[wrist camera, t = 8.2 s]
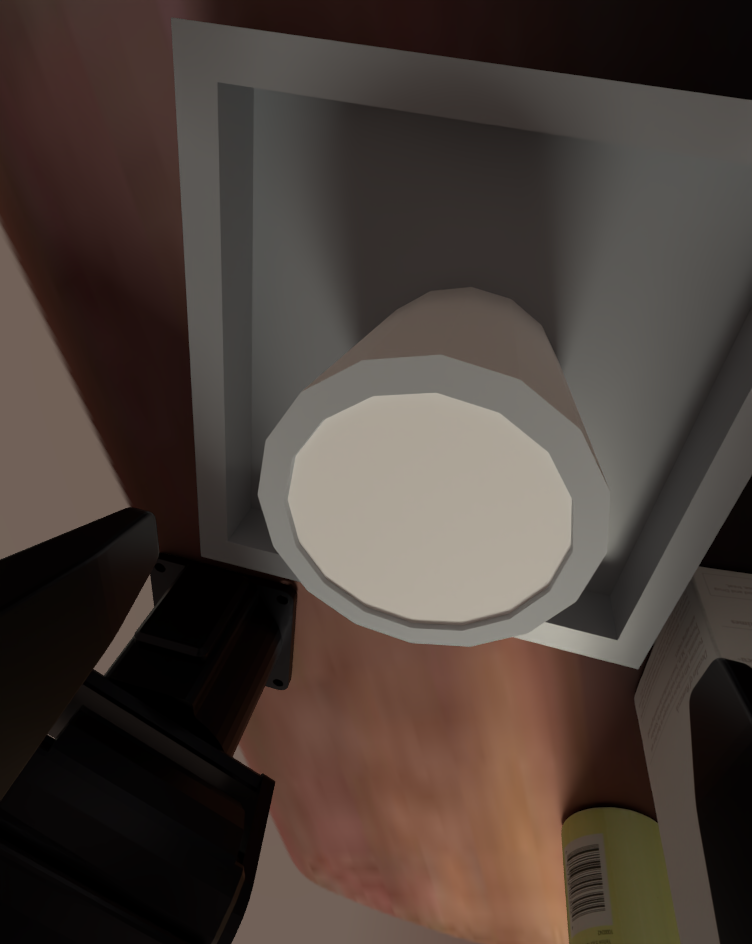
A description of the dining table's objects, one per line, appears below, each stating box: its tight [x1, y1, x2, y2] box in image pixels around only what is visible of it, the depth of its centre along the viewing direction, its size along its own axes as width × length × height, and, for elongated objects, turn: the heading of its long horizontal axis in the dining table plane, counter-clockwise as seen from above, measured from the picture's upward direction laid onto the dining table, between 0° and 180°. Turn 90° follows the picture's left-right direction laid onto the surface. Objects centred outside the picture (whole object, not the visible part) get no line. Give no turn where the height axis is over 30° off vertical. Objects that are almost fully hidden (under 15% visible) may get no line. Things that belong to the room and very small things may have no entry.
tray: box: [171, 18, 752, 669], centre depth 17 cm, size 15×15×3 cm
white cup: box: [258, 287, 610, 647], centre depth 14 cm, size 7×7×7 cm
